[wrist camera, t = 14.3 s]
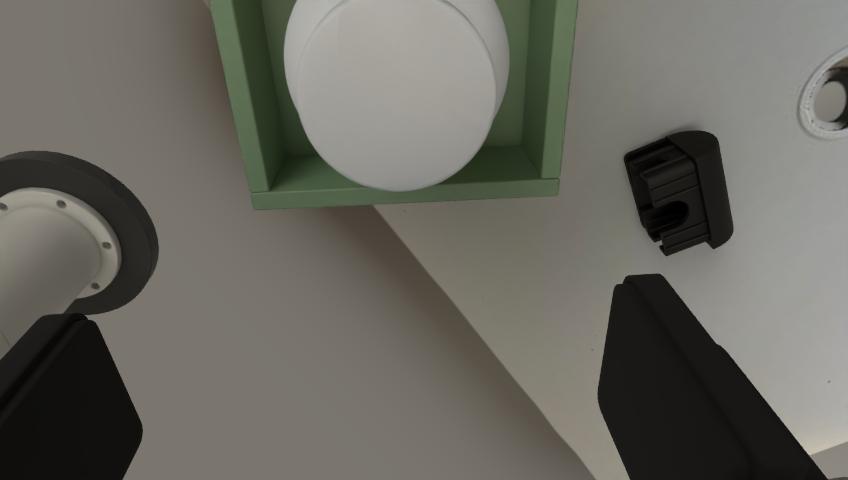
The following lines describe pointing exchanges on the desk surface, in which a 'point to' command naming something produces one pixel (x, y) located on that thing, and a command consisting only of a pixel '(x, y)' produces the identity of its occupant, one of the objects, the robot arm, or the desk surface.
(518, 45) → the green storage bin
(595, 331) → the desk surface
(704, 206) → the end cap
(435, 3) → the pill bottle
